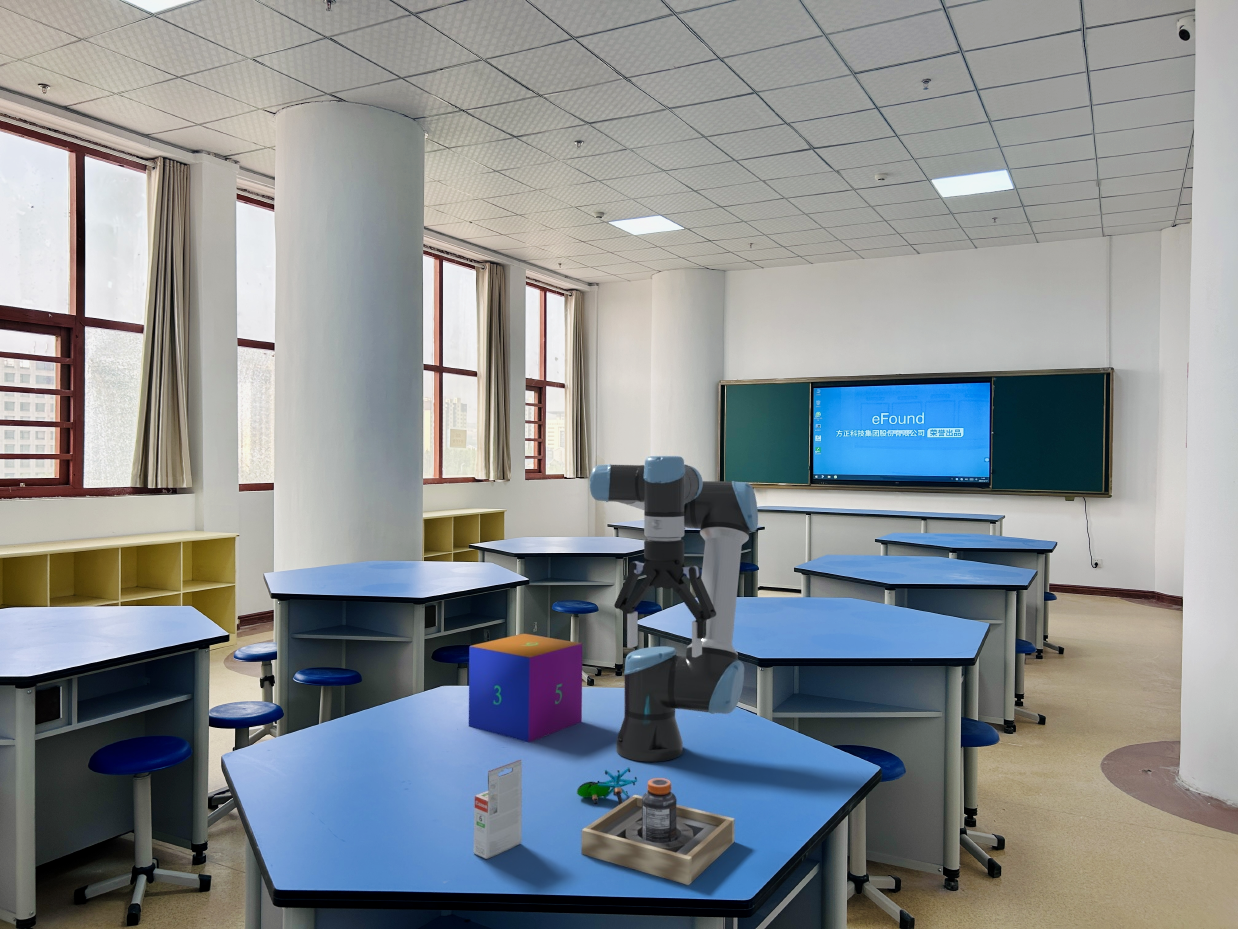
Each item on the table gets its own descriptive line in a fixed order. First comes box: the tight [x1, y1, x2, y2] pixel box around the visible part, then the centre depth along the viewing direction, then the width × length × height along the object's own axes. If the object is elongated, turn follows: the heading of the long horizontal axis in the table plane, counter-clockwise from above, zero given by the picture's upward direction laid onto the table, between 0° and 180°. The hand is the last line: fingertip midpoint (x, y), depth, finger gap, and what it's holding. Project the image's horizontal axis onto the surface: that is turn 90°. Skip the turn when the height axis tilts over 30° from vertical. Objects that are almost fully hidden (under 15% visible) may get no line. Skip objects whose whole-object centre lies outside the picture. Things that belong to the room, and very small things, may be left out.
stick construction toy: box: [576, 766, 638, 806], centre depth 164 cm, size 12×7×8 cm
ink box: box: [473, 759, 523, 860], centre depth 144 cm, size 4×8×15 cm, turn 140°
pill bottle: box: [642, 777, 678, 843], centre depth 145 cm, size 6×6×11 cm
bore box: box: [580, 794, 736, 886], centre depth 145 cm, size 20×18×4 cm
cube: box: [468, 633, 583, 743], centre depth 213 cm, size 20×20×20 cm
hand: (664, 651), depth 159 cm, fingers open, 13 cm apart
